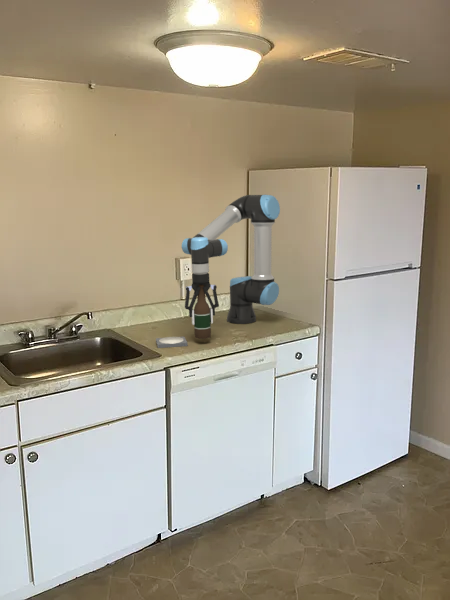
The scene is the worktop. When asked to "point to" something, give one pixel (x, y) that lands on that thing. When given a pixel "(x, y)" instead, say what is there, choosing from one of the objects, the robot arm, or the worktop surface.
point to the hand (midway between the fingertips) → (202, 323)
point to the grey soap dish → (171, 342)
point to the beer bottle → (202, 316)
